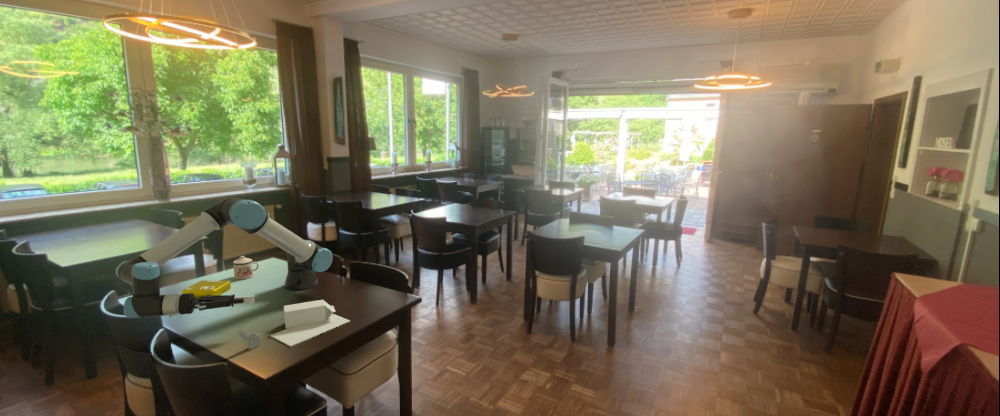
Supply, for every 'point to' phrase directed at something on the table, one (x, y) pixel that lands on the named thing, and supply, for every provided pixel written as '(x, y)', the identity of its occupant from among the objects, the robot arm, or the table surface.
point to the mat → (308, 331)
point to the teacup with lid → (243, 268)
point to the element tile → (208, 288)
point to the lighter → (250, 339)
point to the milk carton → (307, 313)
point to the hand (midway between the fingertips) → (253, 299)
